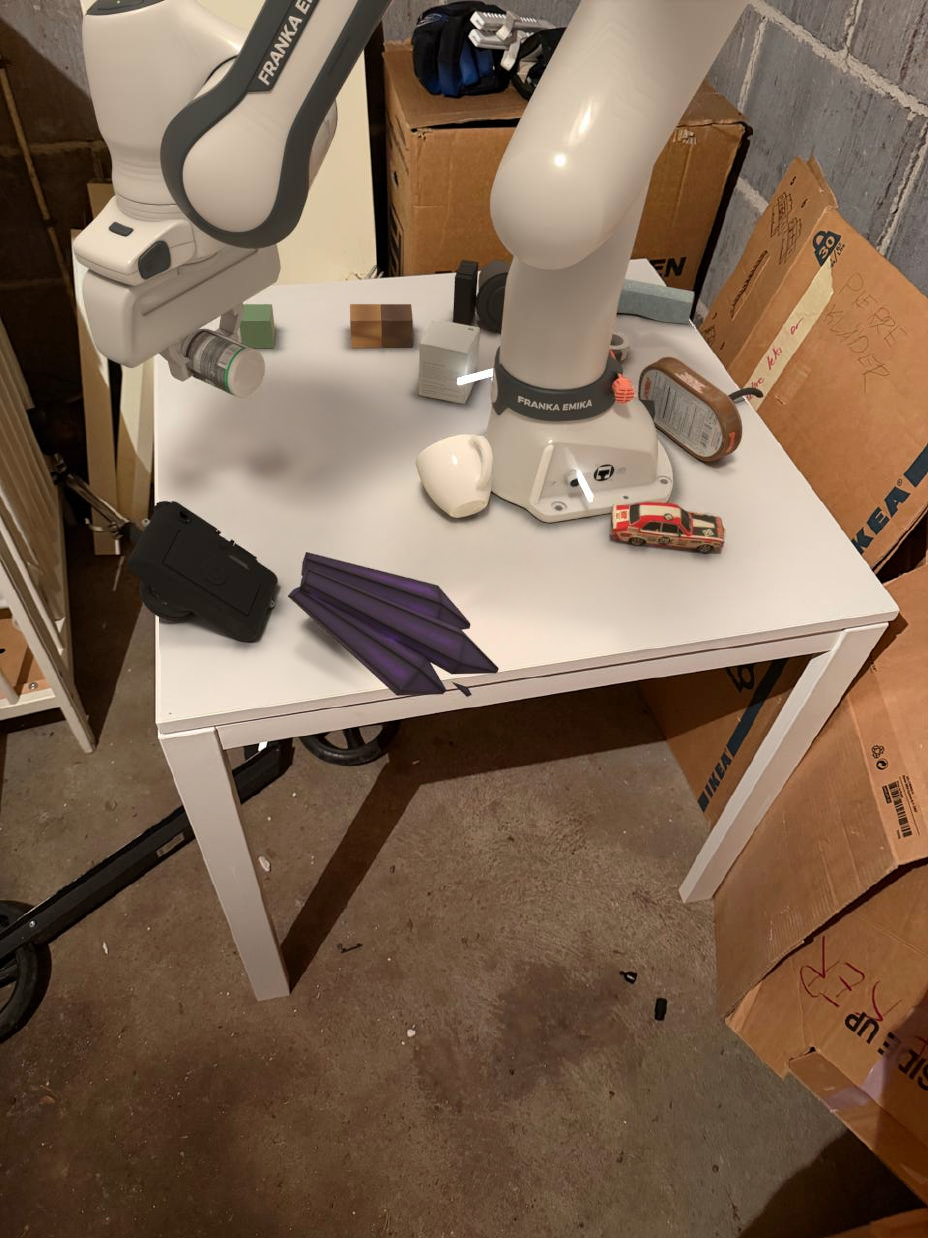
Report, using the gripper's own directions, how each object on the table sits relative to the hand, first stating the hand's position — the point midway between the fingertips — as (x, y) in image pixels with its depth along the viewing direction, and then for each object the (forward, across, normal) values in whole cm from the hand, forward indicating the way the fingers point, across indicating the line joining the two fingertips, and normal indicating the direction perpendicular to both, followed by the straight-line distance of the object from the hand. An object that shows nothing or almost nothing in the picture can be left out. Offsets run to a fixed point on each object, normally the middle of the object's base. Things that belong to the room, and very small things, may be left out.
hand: (206, 361), depth 84 cm
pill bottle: (-1, 0, +6) cm, 6 cm away
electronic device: (+16, -45, +18) cm, 51 cm away
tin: (+16, -38, +36) cm, 55 cm away
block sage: (+16, -24, -17) cm, 34 cm away
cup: (+13, -10, +25) cm, 30 cm away
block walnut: (+16, -35, -3) cm, 39 cm away
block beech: (+16, -33, -6) cm, 37 cm away
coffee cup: (+13, -53, +2) cm, 55 cm away
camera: (+12, +18, +11) cm, 24 cm away
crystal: (+8, +12, +19) cm, 24 cm away
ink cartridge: (+16, -44, +2) cm, 47 cm away
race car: (+16, -21, +42) cm, 50 cm away
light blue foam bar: (+14, -61, +16) cm, 65 cm away
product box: (+16, -30, +8) cm, 35 cm away
